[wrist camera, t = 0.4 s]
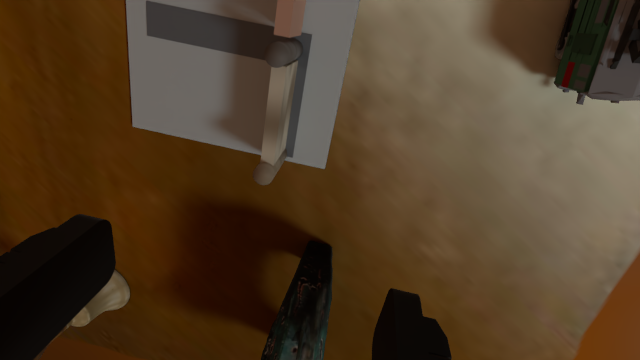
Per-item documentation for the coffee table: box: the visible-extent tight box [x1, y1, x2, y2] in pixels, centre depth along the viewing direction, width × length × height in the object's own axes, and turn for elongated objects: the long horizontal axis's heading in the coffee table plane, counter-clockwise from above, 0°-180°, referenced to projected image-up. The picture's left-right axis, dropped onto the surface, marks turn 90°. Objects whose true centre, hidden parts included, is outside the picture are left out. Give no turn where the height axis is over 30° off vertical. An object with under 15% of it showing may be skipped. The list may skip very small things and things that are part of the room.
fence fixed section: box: [253, 38, 303, 185], centre depth 31 cm, size 12×2×6 cm, turn 170°
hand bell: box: [33, 270, 130, 360], centre depth 41 cm, size 8×8×16 cm
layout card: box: [126, 0, 360, 169], centre depth 32 cm, size 26×21×1 cm
